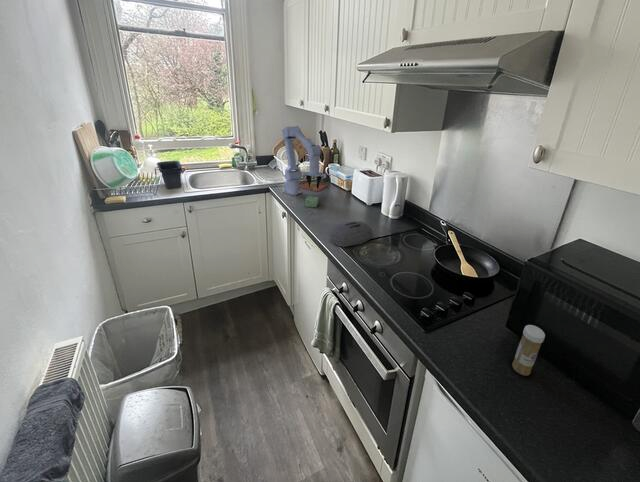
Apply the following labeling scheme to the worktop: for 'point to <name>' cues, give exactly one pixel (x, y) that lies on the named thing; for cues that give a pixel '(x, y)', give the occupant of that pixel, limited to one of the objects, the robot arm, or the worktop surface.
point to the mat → (306, 186)
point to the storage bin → (170, 173)
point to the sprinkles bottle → (528, 349)
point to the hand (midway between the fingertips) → (313, 187)
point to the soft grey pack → (351, 233)
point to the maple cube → (313, 186)
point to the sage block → (311, 201)
